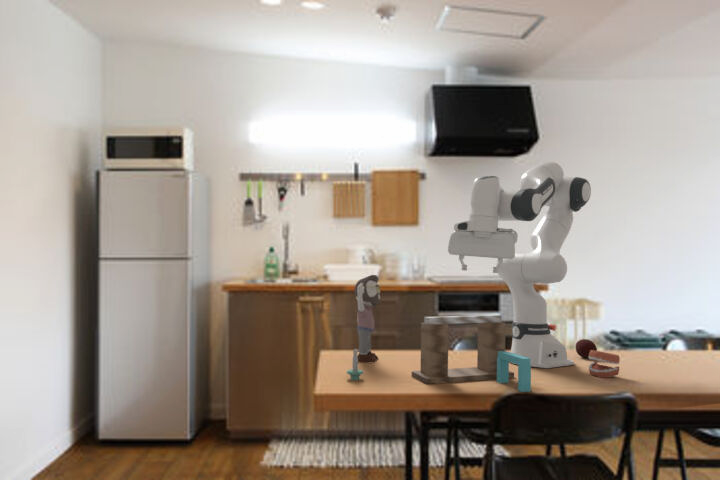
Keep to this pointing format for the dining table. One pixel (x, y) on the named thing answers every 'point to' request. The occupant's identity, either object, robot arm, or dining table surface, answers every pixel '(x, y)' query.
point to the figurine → (366, 315)
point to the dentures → (601, 369)
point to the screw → (355, 367)
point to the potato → (585, 347)
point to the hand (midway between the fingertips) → (479, 271)
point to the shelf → (437, 349)
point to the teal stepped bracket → (523, 369)
